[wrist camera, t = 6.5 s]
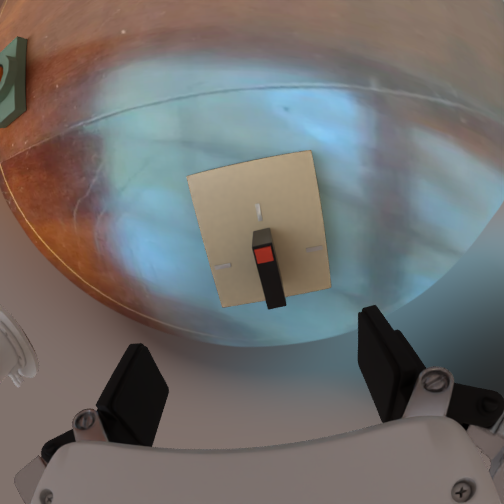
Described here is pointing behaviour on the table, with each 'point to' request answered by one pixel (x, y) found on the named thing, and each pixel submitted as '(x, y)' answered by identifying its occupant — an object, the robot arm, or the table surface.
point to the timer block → (12, 81)
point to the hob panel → (262, 224)
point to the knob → (268, 268)
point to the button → (1, 72)
